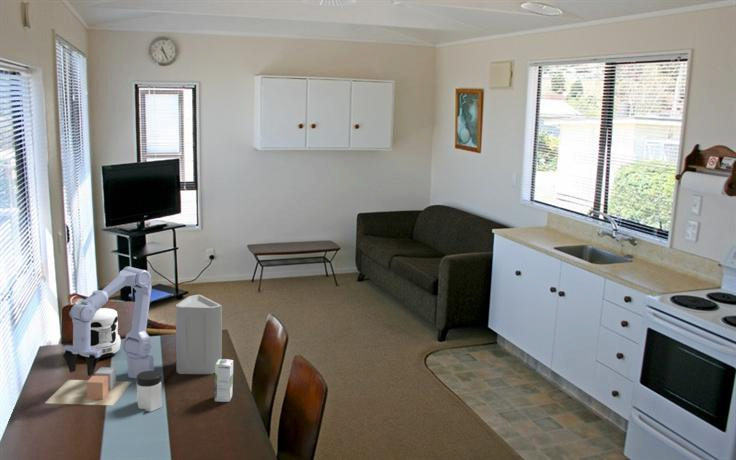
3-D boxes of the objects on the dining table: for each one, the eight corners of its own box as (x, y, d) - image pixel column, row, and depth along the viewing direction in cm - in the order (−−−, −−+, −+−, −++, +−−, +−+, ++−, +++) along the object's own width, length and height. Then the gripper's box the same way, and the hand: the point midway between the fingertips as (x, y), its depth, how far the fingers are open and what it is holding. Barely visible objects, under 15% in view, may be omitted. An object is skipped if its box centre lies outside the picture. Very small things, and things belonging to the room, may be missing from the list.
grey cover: (116, 383, 251) (115, 367, 249) (110, 390, 245) (110, 373, 244) (101, 383, 250) (100, 367, 249) (95, 389, 245) (95, 373, 244)
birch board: (131, 384, 253) (131, 381, 253) (113, 407, 234) (113, 405, 233) (68, 382, 252) (68, 379, 252) (44, 405, 233) (44, 403, 232)
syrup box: (217, 395, 247) (217, 358, 245) (233, 395, 248) (233, 359, 245) (214, 401, 242) (214, 364, 239) (230, 402, 242) (230, 365, 239)
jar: (163, 409, 234) (162, 378, 232) (139, 413, 230) (138, 381, 228) (159, 399, 242) (158, 368, 239) (135, 402, 238) (135, 371, 236)
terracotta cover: (108, 392, 243) (108, 376, 242) (102, 399, 237) (102, 382, 236) (93, 392, 243) (92, 375, 241) (87, 399, 237) (86, 382, 236)
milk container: (91, 344, 290) (90, 305, 287) (128, 348, 288) (127, 309, 285) (68, 359, 273) (66, 318, 270) (107, 363, 271) (106, 321, 268)
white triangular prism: (166, 365, 272) (166, 300, 267) (199, 357, 282) (199, 294, 277) (188, 380, 259) (188, 312, 253) (222, 371, 269) (222, 305, 263)
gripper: (56, 337, 233) (56, 373, 235) (91, 343, 229) (91, 380, 231) (70, 331, 240) (70, 367, 242) (104, 337, 236) (104, 373, 238)
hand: (81, 373), depth 237 cm, fingers open, 7 cm apart
